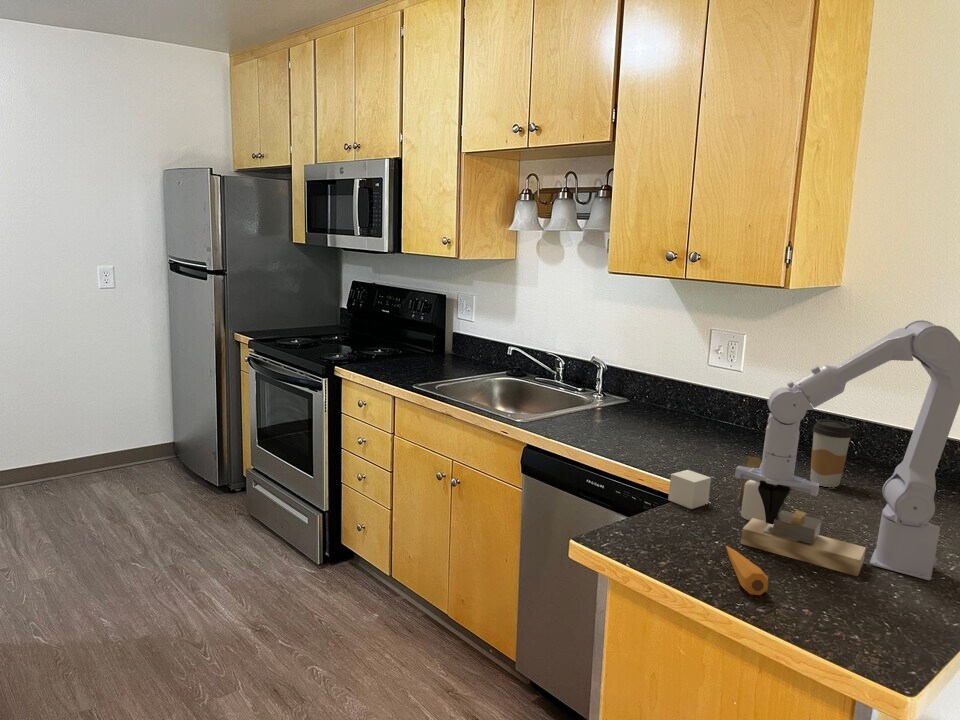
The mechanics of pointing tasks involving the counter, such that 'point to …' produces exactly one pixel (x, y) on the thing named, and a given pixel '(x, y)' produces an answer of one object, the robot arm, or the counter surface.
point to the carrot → (748, 573)
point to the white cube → (689, 489)
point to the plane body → (805, 548)
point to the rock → (751, 463)
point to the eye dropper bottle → (752, 502)
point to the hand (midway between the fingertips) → (770, 522)
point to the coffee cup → (829, 452)
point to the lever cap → (797, 526)
